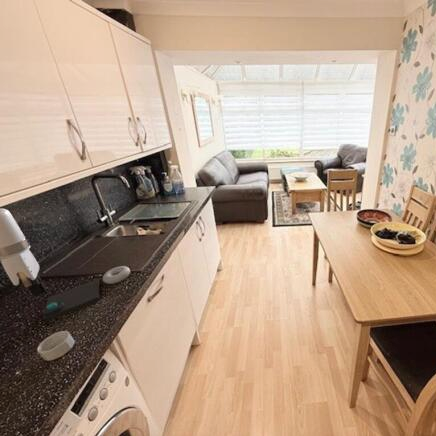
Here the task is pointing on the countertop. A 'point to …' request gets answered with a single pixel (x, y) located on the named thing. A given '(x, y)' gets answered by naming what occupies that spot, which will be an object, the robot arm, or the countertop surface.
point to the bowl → (56, 345)
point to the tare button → (52, 306)
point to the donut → (116, 275)
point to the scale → (72, 299)
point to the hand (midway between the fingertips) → (40, 292)
